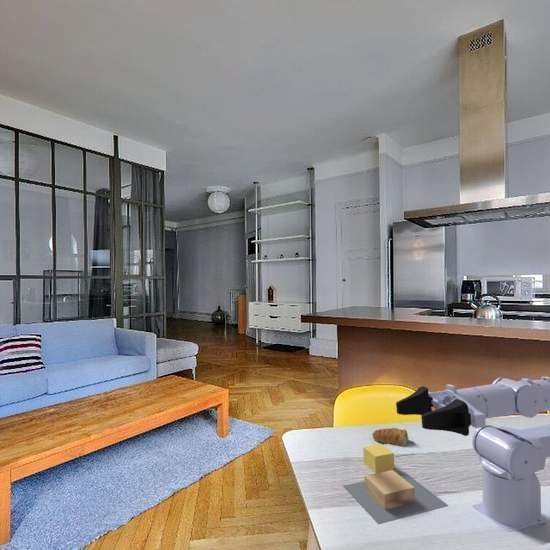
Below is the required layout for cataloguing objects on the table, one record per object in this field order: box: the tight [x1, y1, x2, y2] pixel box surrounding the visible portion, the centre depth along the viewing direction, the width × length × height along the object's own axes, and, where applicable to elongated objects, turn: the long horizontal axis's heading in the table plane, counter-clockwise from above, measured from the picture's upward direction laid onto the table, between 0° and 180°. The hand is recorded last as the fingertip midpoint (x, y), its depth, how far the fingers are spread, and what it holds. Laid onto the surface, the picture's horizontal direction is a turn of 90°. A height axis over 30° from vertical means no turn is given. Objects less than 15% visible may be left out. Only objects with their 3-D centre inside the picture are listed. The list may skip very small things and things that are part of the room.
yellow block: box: [362, 443, 395, 474], centre depth 88 cm, size 5×5×4 cm
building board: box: [342, 472, 449, 525], centre depth 76 cm, size 16×13×1 cm
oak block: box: [364, 470, 415, 510], centre depth 76 cm, size 7×7×3 cm
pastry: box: [371, 427, 409, 447], centre depth 102 cm, size 9×7×4 cm
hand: (409, 414), depth 65 cm, fingers open, 7 cm apart
